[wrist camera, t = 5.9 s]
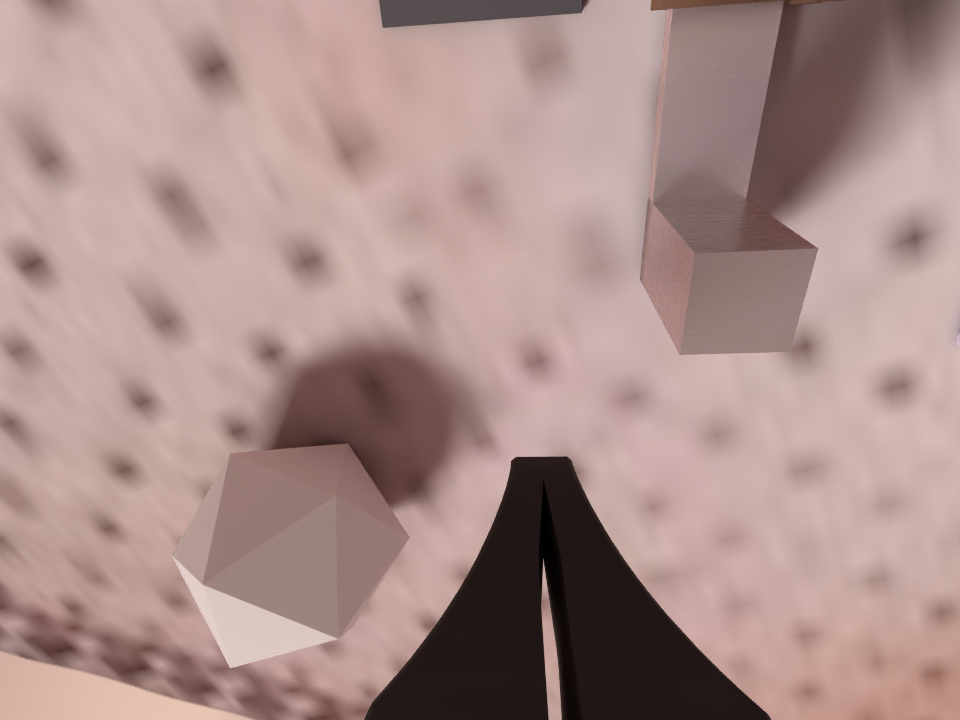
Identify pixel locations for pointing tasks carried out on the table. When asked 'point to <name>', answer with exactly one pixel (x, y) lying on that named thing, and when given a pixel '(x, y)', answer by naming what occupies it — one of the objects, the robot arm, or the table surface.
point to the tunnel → (719, 3)
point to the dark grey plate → (469, 10)
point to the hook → (718, 190)
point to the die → (287, 549)
